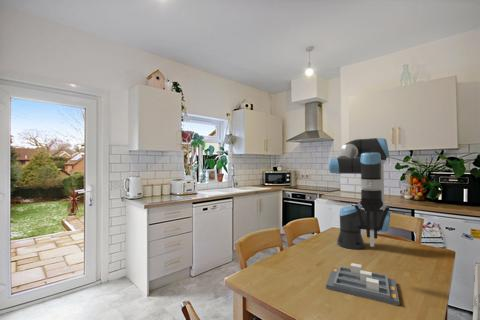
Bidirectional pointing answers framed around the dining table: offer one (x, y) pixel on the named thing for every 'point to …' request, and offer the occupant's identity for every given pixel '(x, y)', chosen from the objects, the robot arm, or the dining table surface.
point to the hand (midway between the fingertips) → (372, 245)
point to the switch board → (363, 285)
